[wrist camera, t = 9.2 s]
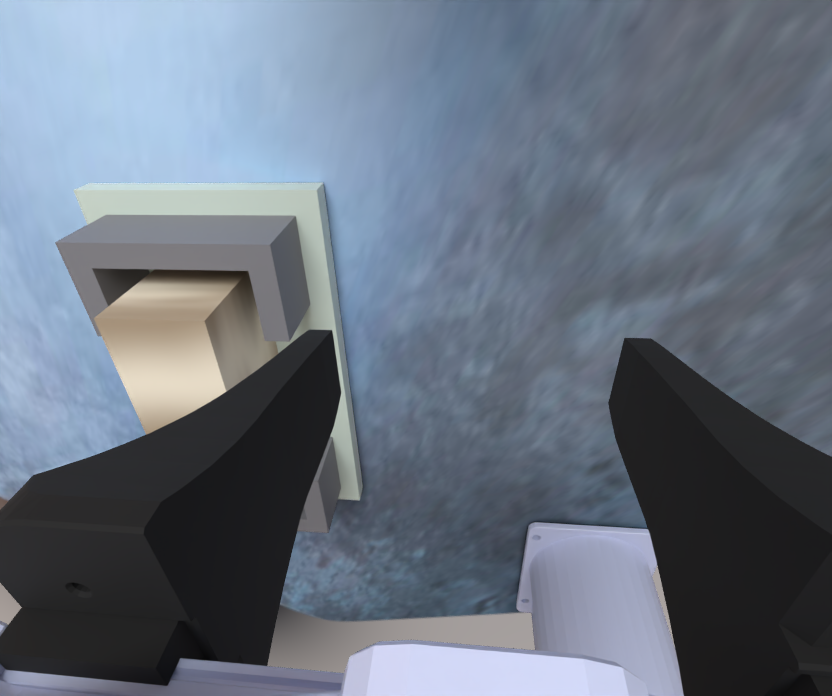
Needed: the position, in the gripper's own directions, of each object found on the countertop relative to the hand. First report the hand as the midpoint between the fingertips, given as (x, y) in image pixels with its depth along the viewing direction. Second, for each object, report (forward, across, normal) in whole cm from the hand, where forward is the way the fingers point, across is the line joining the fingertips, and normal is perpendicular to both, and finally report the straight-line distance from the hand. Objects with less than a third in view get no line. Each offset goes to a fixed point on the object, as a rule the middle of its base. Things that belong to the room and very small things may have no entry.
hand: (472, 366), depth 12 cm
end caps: (+9, +11, +7) cm, 16 cm away
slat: (+8, +11, +7) cm, 15 cm away
